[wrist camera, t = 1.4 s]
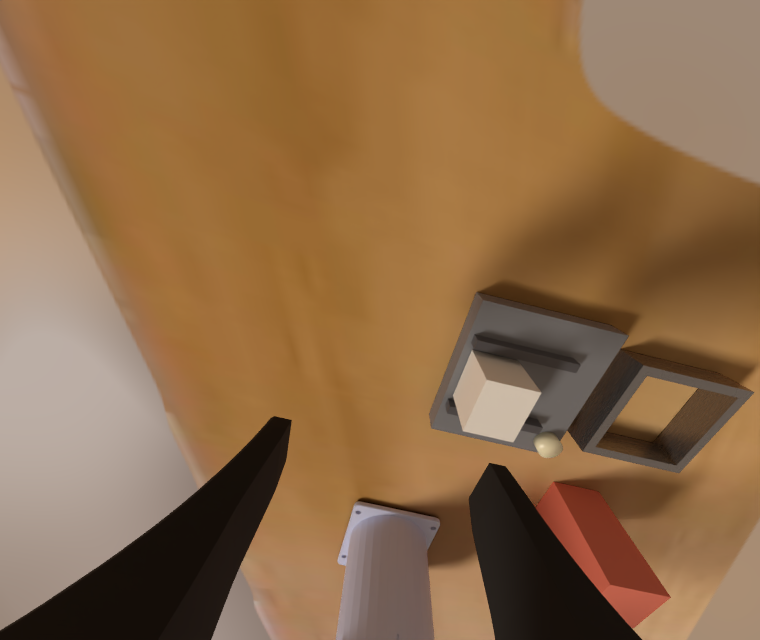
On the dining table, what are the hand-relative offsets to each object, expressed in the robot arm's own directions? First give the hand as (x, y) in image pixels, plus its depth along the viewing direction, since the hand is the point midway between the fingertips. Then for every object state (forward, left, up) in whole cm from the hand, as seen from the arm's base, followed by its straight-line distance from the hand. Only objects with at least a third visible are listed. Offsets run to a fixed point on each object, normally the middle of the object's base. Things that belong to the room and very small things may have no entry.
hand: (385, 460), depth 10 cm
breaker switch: (-1, -6, -8) cm, 11 cm away
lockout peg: (-12, -18, -10) cm, 24 cm away
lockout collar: (-1, -18, -10) cm, 21 cm away
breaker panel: (-1, -9, -10) cm, 13 cm away
